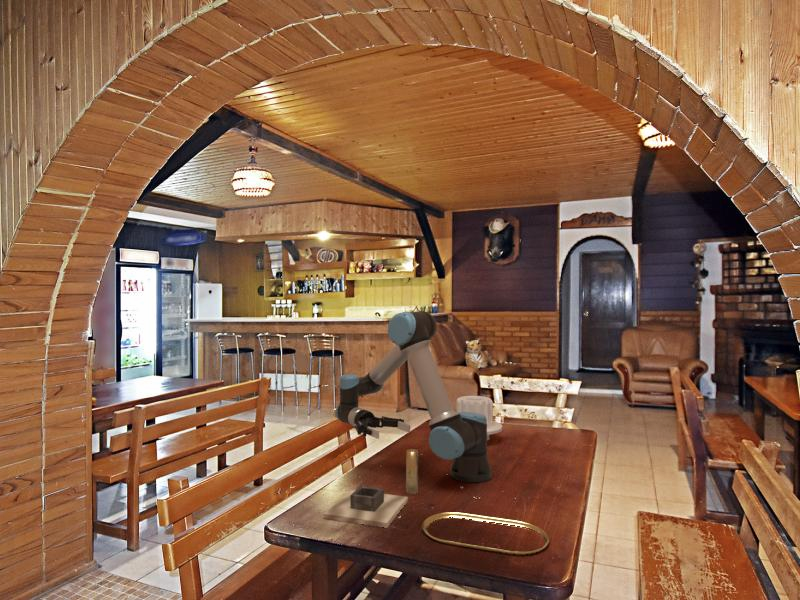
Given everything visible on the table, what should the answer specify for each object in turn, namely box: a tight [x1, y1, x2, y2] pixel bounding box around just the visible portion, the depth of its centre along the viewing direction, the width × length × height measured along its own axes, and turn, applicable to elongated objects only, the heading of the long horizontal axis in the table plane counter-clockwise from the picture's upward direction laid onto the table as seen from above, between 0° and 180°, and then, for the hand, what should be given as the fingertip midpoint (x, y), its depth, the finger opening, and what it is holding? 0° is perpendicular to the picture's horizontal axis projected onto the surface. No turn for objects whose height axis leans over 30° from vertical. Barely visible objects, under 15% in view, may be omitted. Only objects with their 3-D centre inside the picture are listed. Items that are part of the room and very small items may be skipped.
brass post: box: [405, 448, 419, 495], centre depth 175 cm, size 4×4×14 cm
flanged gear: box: [456, 395, 503, 441], centre depth 238 cm, size 25×25×19 cm
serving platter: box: [421, 511, 550, 556], centre depth 144 cm, size 19×35×2 cm, turn 71°
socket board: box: [323, 485, 409, 529], centre depth 161 cm, size 20×20×6 cm
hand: (394, 431), depth 183 cm, fingers open, 13 cm apart
